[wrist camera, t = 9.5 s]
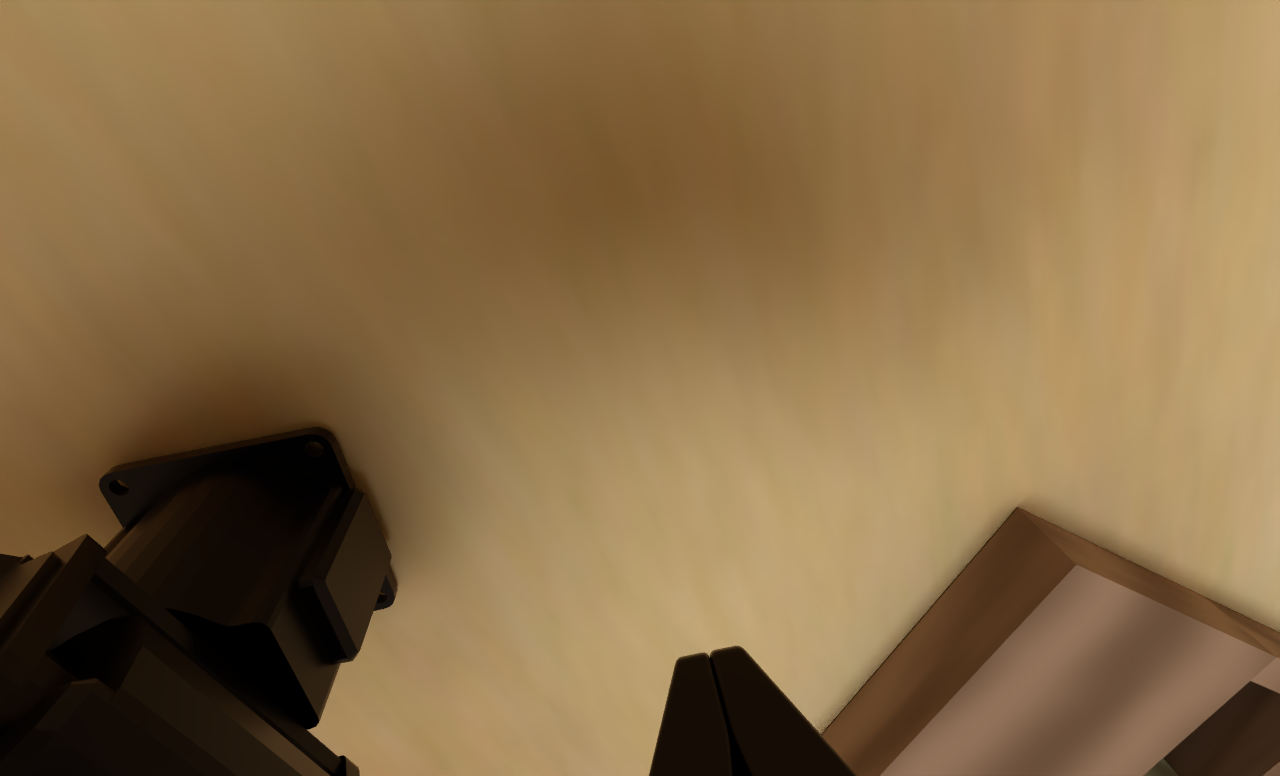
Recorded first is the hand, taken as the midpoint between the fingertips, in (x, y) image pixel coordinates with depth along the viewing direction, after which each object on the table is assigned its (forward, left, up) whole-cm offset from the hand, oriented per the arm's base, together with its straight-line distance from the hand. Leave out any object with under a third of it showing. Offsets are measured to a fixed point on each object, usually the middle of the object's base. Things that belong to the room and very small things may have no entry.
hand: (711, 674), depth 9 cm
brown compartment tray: (+12, -23, -12) cm, 28 cm away
